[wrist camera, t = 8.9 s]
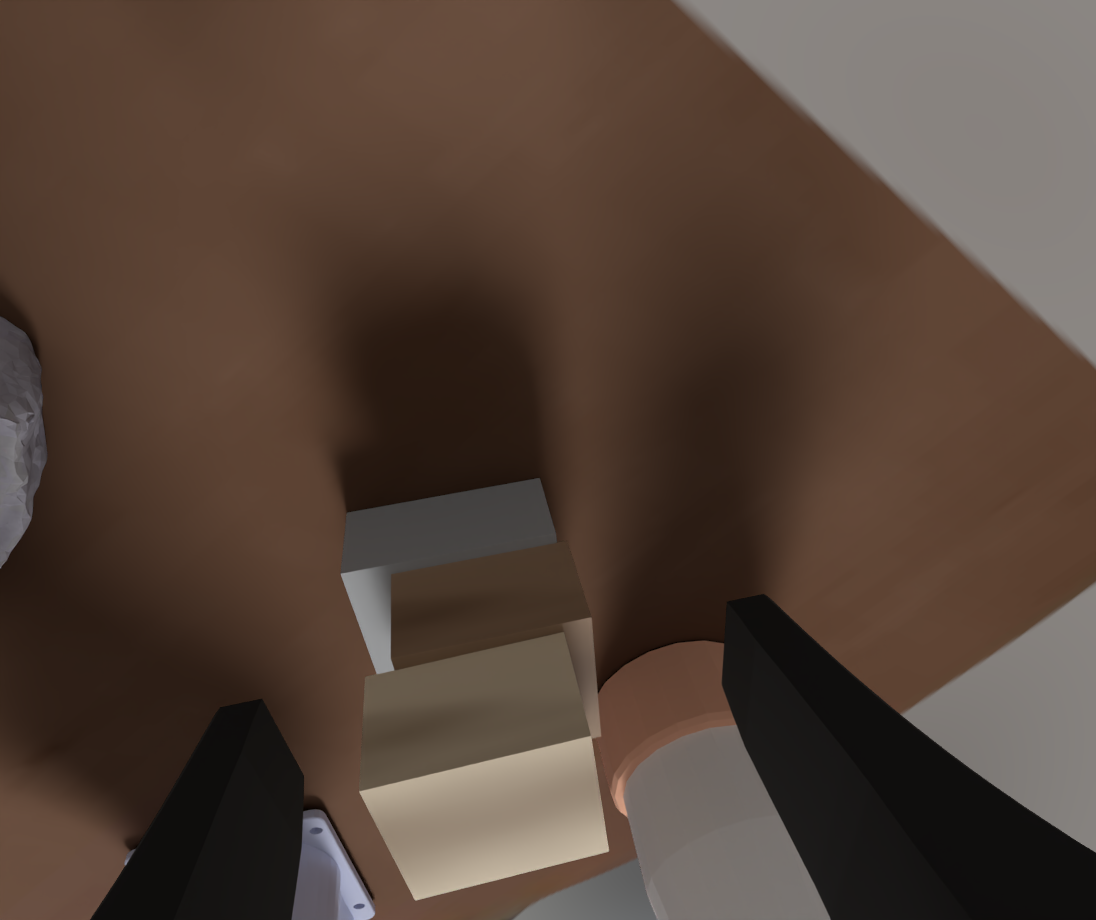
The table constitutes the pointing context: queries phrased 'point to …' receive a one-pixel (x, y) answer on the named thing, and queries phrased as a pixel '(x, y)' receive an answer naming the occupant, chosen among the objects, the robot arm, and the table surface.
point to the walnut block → (495, 611)
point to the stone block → (19, 434)
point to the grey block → (433, 545)
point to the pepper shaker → (696, 794)
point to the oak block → (481, 766)
